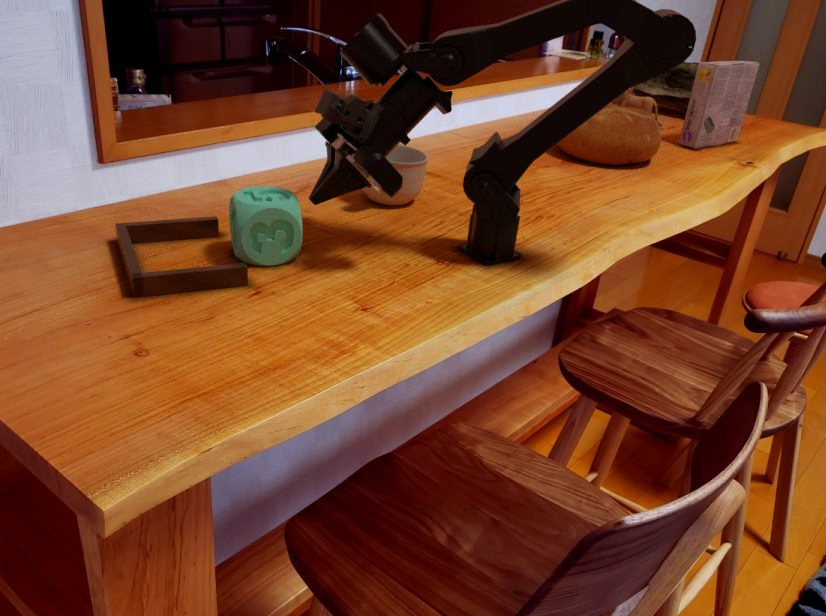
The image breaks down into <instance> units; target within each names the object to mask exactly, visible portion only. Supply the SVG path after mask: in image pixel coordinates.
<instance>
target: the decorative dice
mask: <svg viewBox="0 0 826 616" xmlns="http://www.w3.org/2000/svg"><path fill="white" fill-rule="evenodd" d="M228 207H229V208H228V214H229V215H228V217H229V231H230V232H229V233H230V239H231V245H232V249H233V253H234V256H235V257H236V258H237V259H238V260H239V261H241V262H242V263H246V264H248V265H253V266H259V267H274V266H280V265H285V264H287V263H290V262H291V261H293V260H294V259H295V258H296V257H297V256H298V254H300V252H301V250H302V246H303V238H304V237H303V235H304V234H303V232H304V231H303V230H304V229H303V217H302V209H301V205H300V202H299V199H298V197H297V195H296V194H295V193H294V192H292V191H291V190H288V189H286V188H283V187H280V186H279V187H278V186H271V185H256V186H255V185H254V186H248V187H243V188H239V189H238V190H237V191H236V192H234V194H233V195H231V197H230V198H229V205H228Z"/></svg>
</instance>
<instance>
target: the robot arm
mask: <svg viewBox="0 0 826 616" xmlns="http://www.w3.org/2000/svg"><path fill="white" fill-rule="evenodd" d="M596 25H603V26H605V27H607V28H609V29H610V30H612V31H614V32H615V33H617V34H619V35H621V36H622V37H624V38H625V39H624V41H623V42H622V43H621V45H620V46H619V48H618V49H617V50H616V51H615V52H614V54H613V55H612V56H611V58H610V59H609V60H608V61H606V63H604V64H603V65H602V66H600V67H599V68H598V69H597V70H596V71H594V72H593V73H592V74H590V75H589V76H588V77H587V78H586V79H584V80H582V82H580V83H579V84H577V85H576V86H575V87H574V88H573V89H571V90H570V91H569V92H568V93H566V94H565V95H564V96H563V97H561V98H560V99H559V100H557V101H556V102H555V103H554V104H553V105H550V107H549V108H547V109H546V110H544V112H542V114H540V115H538V116H537V117H536V118H535V119H534V120H532V121H531V122H529V123H528V124H527V125H526V126H525V127H523V128H522V129H521V130H520V131H518V132H517V133H515V134H513V135H510V136H509V137H506V138H503V139H502V138H501V136H500V133H499V132H498V131H495V132H494V133H493V134H492V135H491V137H489V138H488V140H487V141H485V143H484V144H482V145H480V146H478V147H475V148H473V149H472V153H471V156H470V159H469V160H468V162H467V165H466V169H465V172H464V176H463V180H462V188H463V193H464V194H465V196H466V198H467V199H468V200H469V201H470V202H472V203H473V205H472V210H471V214H470V217H469V224H468V232H467V237H466V238H467V239H466V243H461V244H459V245H458V249H459V250H461V251H462V252H464V253H465V254H467V255H469V256H471V257H472V258H474V259H475V260H478V261H479V262H481V263H482V264H485V265H494V264H499V263H502V262H507V261H512V260H518V259H521V258H522V256H523V253H522V252H520V251H518V250H516V244H517V237H518V232H519V228H520V227H519V226H520V219H521V216H520V215H519V213H520V211H521V189H520V188H519V186H518V185H517V183H518V182H519V180H520V179H521V178H522V177H523V175H524V174H525V173H526V171H527V170H529V168H530V167H531V165H532V164H533V163H534V162H535V161H536V160H537V159H539V158H540V157H542V156H543V155H545V153H547V152H548V151H549V150H551V149H552V148H553V147H555V146H556V145H557V143H558V142H560V141H561V140H562V139H564V138H565V137H566V136H567V135H569V134H570V133H571V132H573V131H574V130H575V129H577V128H578V127H579V126H581V125H582V124H583V123H584V122H586V121H587V120H588V119H590V118H591V117H592V116H594V115H595V114H596V113H598V112H599V111H600V110H602V109H603V108H604V107H605V106H607V105H608V104H609V103H611V102H612V101H613V100H615V99H616V98H617V97H619V96H620V95H621V94H622V93H624V92H625V91H626V90H628V89H630V90H631V88H632V89H633V87H634V86H637V85H639V84H641V83H644V82H646V81H649V80H651V79H654V78H656V77H658V76H660V75H662V74H663V73H665V72H667V71H669V70H671V69H673V68H674V67H676V66H678V65H680V64H682V63H683V62H686V61H687V60H688V58H690V57H691V55H692V54H693V52H694V51H695V47H696V42H697V31H696V30H697V29H696V27H695V26H694V23H693V22H692V21H691V20H690V19H689V18H688V16H687V17H686V16H685V15H684V14H682V13H680V12H678V11H676V10H674V9H670V8H669V9H668V8H661V9H657V10H653V9H651V8H649V7H647V6H646V5H644V4H642V3H640V2H638V1H636V0H557V1H555V2H552V3H549V4H547V5H544V6H541V7H538V8H536V9H533V10H531V11H528V12H525V13H523V14H520V15H517V16H514V17H511V18H510V19H505V20H503V21H501V22H496V23H491V24H486V25H485V24H484V25H476V26H469V27H468V26H467V27H464V28H458V29H451V30H448V31H445V32H443V33H442V34H440V35H439V36H437V37H436V38H435V39H434V41H427V42H421V43H418V42H416V43H413V44H409V46H408V44H406V43H405V42H404V40H402V39H403V38H401V37H400V36H399V35H398V34H397V33H396V31H395V30H394V29H393V28H392V26H390V24H389V22H388V20H387V19H386V18H385V17H384V16H383V14H381V13H377V14H375V16H374V17H372V19H370V21H369V22H368V23H367V24H365V26H364V27H362V29H361V30H360V31H358V32H356V33H355V34H354V35H353V36H352V37H351V38H350V39H349V40H348V41H347V42H346V44H345V45H344V46H343V47H342V49H340V51H339V54H340V55H341V56H342V58H344V60H346V62H347V63H348V64H349V65H350V66H351V67H352V68H353V69H354V70H355V71H356V73H357V74H358V75H359V76H360V77H361V78H362V79H363V80H364V81H365V83H367V84H368V85H369V86H370V87H373V85H375V87H377V86H378V85H380V87H382V88H383V87H384V86H385V85H386V84H387V83H388V82H389V81H390V80H391V79H392V78H393V76H395V75H396V74H397V72H399V70H400V69H401V70H402V71H403V73H402V74H401V75H400V76H399V77H398V78H397V79H396V80H395V81H394V82H393V83H392V84H391V86H389V87H388V89H387V90H386V91H385V92H384V93H383V94H382V95H381V96H380V97H379V98H378V99H377V100H376V101H374V100H372V99H369V100H367V99H366V100H363V99H362V98H359V97H357V96H356V95H354V94H350V95H348V96H347V97H344V96H342V95H340V94H338V93H337V92H334V91H332V90H331V89H328V88H326V87H325V88H324V90H323V91H322V94H321V96H320V98H319V101H318V103H317V104H316V107H315V109H314V113H316V114H319V115H320V117H321V119H320V120H319V122H317V124H315V126H314V128H315V130H316V131H317V132H318V133H319V134H320V135H321V136H322V138H324V139H325V143H324V146H325V147H326V162H325V164H324V167H323V169H322V171H321V173H320V175H319V177H318V179H317V181H316V183H315V185H314V186H313V189H312V191H310V192H311V193H310V194H309V197H308V200H309V201H310V202H311V204H312V205H314V206H317V205H320V204H323V203H325V202H327V201H330V200H331V201H332V200H333V199H335V198H339V197H341V196H343V195H346V194H350V193H353V192H355V191H359V190H362V188H365V187H368V188H370V187H371V186H372V185H371V184H370V183H369V181H370V180H371V179H372V178H373V179H374V180H375V181H376V182H377V183H378V184H379V185H380V186H381V189H382V190H383V192H385V193H386V194H387V195H388V196H389V197H391V198H393V197H394V196H395V195H396V194H397V192H398V191H399V190H400V189H401V188H402V184H403V177H402V176H401V175H400V173H399V172H398V171H397V170H396V169H395V168H394V167H393V165H392V164H391V163H390V162H389V161H388V160H387V159H386V156H387V155H388V154H389V153H390V152H391V151H392V150H393V149H394V148H395V147H396V146H397V145H398V144H403V145H405V146H406V145H407V146H408V144H409V143H410V142H411V140H412V139H411V138H410V137H409V136H408V135H409V134H410V133H411V132H412V130H414V129H415V128H416V127H417V126H418V124H419V123H420V122H421V121H422V120H423V119H424V118H426V116H427V115H428V114H430V112H432V110H433V109H434V108H436V109H437V110H438V112H440V113H441V114H442V115H447V114H449V113H451V112H452V110H453V107H452V97H453V91H452V90H443V89H442V88H440V86H439V85H441V86H443V87H453V86H457V85H459V84H461V83H463V82H464V81H467V80H468V79H471V78H472V77H474V76H476V75H477V74H479V73H481V72H482V71H484V70H485V69H487V68H488V67H490V66H491V65H492V66H493V64H496V63H497V62H498V61H500V60H502V59H503V58H505V57H508V56H510V55H514V54H516V53H519V52H522V51H525V50H527V49H530V48H534V47H537V46H539V45H541V44H544V43H547V42H550V41H552V40H556V39H559V38H562V37H564V36H567V35H571V34H573V33H576V32H578V31H581V30H584V29H587V28H590V27H593V26H596ZM419 73H421V74H426V76H425V77H422V76H421V75H420V74H419ZM438 84H439V85H438Z"/></svg>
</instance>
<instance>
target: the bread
mask: <svg viewBox="0 0 826 616" xmlns="http://www.w3.org/2000/svg"><path fill="white" fill-rule="evenodd" d="M658 122H659V121H658ZM658 122H657V121H656V119H655V116H654V115H653V114H652V115H651V114H649V113H648V112H646V111H644V110H642V109H637V108H630V107H623V106H619V105H616V104H612V103H609V104H608V105H607V106H605V107H604V108H603V109H602V110H600V111H599V112H598V113H596V114H595V115H594V116H592V117H591V118H590V119H588V120H587V121H586V122H584V123H583V124H582V125H581V126H579V127H578V128H577V129H575V130H574V131H573V132H571V133H570V134H569V135H567V136H566V137H565V138H564V139H562V140H561V141H560V142H558V143H557V144H556V145H557V147H558V148H559V149H560V150H561V151H563V152H564V153H566V154H567V155H570V156H572V157H574V158H576V159H580V160H582V161H586V162H590V163H594V164H601V165H609V166H624V165H629V164H637V163H645V162H647V161H648V160H650V159H652V158H653V157H654V156H655V155H656V154H657V153H658V152H659V149H660V147H661V143H662V137H661V132H660V131H661V130H660V126H659V125H658Z"/></svg>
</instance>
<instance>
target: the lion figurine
mask: <svg viewBox="0 0 826 616" xmlns="http://www.w3.org/2000/svg"><path fill="white" fill-rule="evenodd" d="M611 103H612V104H616V105H619V106H623V107H630V108H637V109H642V110H644V111H646V112H648V113H649V114H651V115H652V116H653V111H654V118H655V119H656V121H657V122H658V125H659V128H660V127H661V128H662V127H663V125H662V123H661V122H659V118H658V117H659V115H658V114H659V112H658V111H659V110H658V104H656V102H655V100H654V99H653V98H651V97H638V96H635V95H634V94H633V92H632V89H631V88H630V89H628V90H626V91H625V92H624V93H622V94H621V95H620V96H619V97H617V98H616V99H615V100H613V101H612V102H611Z"/></svg>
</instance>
